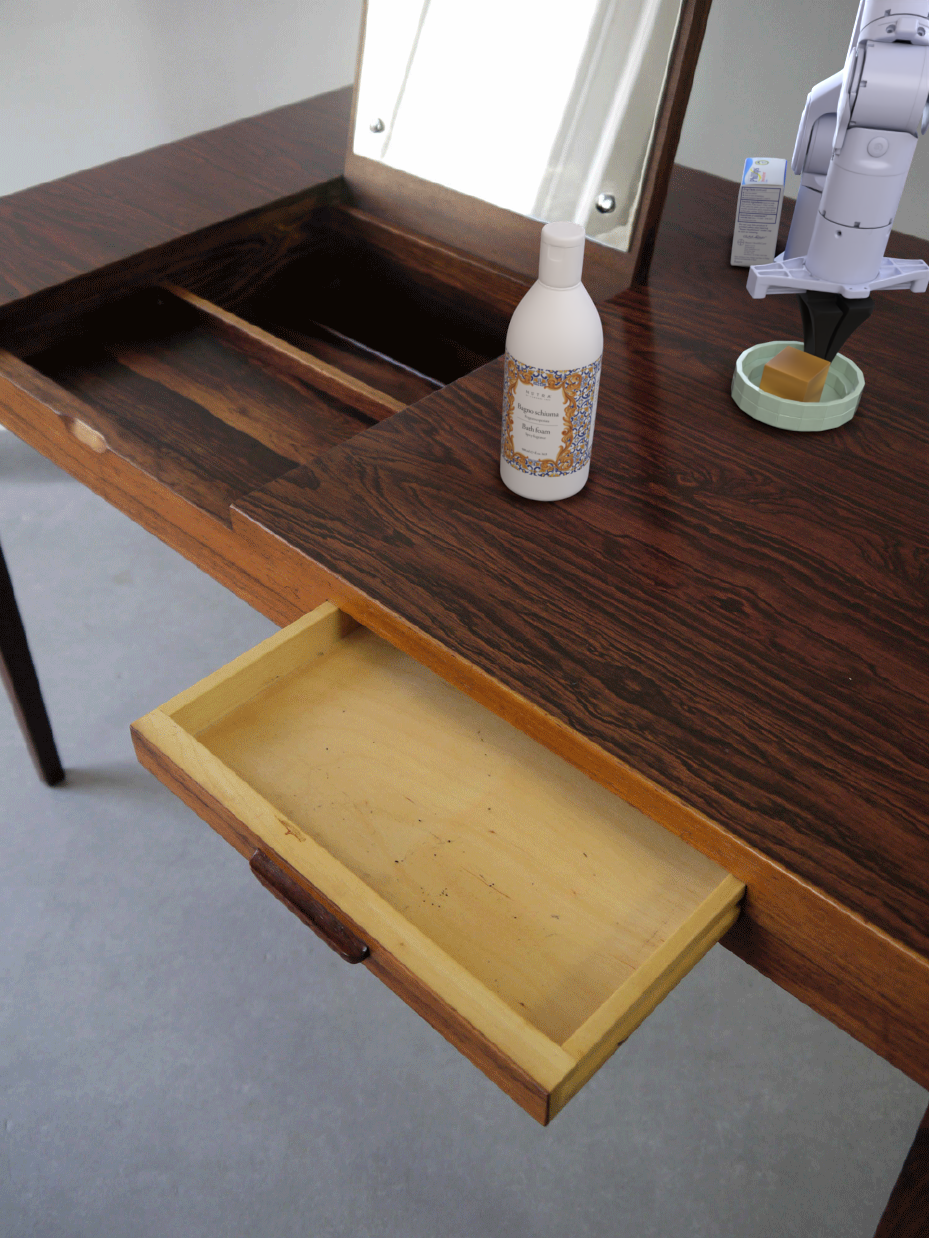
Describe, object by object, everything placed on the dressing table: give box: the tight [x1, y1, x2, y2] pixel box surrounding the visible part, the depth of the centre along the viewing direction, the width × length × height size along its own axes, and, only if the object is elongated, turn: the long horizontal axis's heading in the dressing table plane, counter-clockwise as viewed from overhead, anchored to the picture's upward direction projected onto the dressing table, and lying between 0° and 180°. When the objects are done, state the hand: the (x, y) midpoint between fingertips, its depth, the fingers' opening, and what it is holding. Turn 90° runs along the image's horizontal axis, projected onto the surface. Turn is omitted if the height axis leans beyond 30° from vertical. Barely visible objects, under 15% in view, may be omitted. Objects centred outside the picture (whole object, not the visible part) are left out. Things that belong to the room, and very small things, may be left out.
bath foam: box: [499, 220, 604, 502], centre depth 76 cm, size 7×7×20 cm
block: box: [759, 346, 831, 402], centre depth 89 cm, size 4×4×4 cm
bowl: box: [730, 340, 866, 432], centre depth 91 cm, size 11×11×3 cm
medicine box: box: [730, 157, 788, 268], centre depth 110 cm, size 8×4×9 cm, turn 165°
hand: (813, 369), depth 91 cm, fingers closed
